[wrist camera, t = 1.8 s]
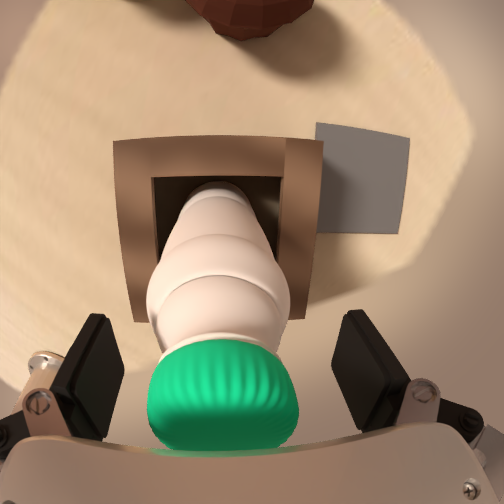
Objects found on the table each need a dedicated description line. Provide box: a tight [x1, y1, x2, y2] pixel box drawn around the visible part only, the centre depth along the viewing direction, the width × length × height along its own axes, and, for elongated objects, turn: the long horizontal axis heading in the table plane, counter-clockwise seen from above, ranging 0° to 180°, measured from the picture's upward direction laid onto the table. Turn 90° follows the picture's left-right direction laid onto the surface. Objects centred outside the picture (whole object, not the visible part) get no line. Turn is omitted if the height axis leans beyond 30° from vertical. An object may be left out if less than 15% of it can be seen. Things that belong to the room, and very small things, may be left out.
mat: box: [315, 122, 410, 234], centre depth 30 cm, size 12×12×1 cm
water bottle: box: [146, 181, 299, 451], centre depth 19 cm, size 7×7×25 cm
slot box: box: [113, 135, 324, 323], centre depth 26 cm, size 16×16×8 cm
